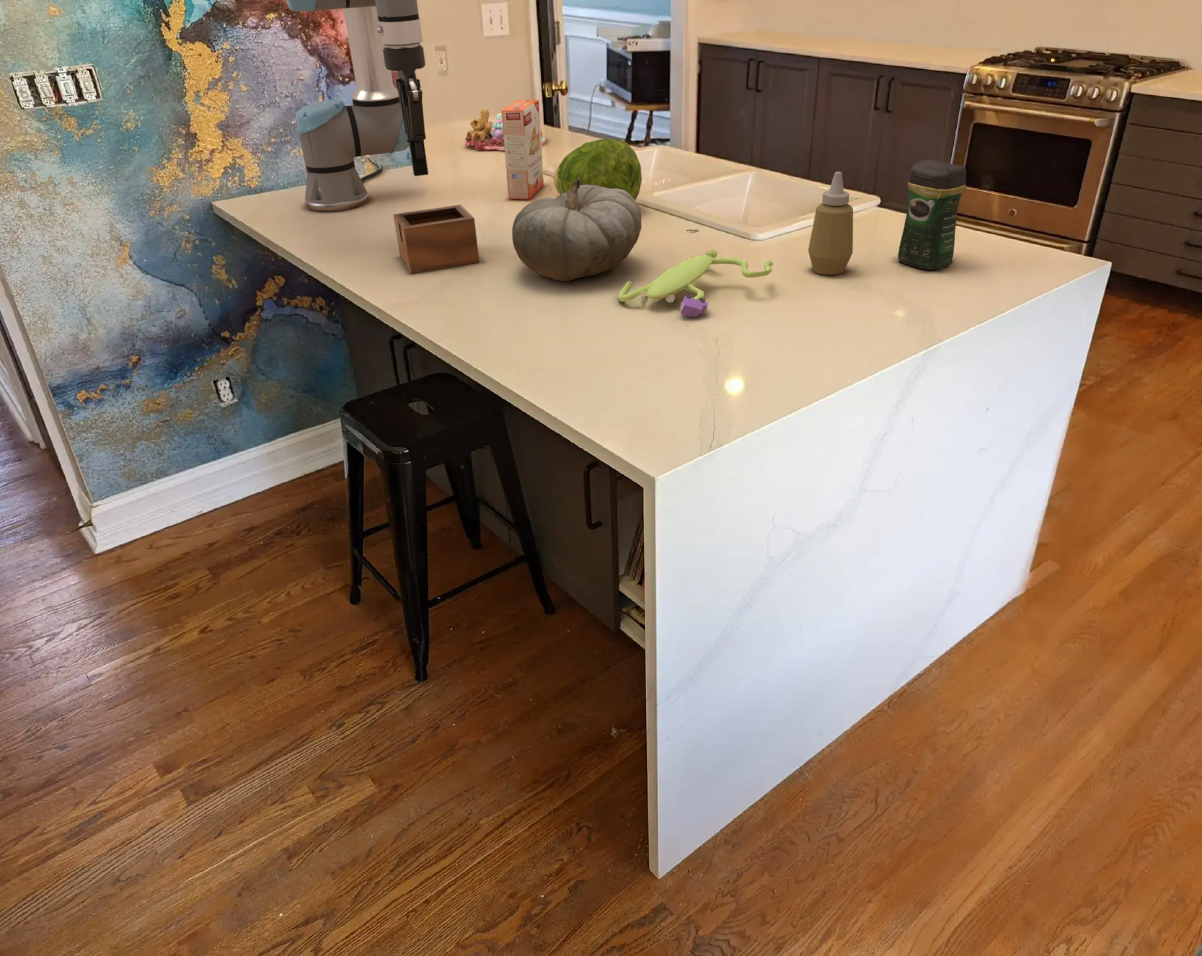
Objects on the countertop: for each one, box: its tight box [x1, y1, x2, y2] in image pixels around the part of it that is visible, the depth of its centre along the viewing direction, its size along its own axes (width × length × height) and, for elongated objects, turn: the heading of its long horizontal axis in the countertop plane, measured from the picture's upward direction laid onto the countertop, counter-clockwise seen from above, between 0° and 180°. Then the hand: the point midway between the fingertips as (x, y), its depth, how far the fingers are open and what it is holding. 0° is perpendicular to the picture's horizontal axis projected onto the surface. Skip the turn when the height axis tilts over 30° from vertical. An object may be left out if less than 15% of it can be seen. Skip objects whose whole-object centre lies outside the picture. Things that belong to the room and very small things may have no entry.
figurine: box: [617, 249, 774, 318], centre depth 158 cm, size 18×27×6 cm
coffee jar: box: [897, 159, 967, 270], centre depth 163 cm, size 10×8×19 cm
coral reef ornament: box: [464, 109, 546, 151], centre depth 271 cm, size 25×24×9 cm
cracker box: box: [501, 99, 545, 201], centre depth 217 cm, size 14×6×21 cm, turn 168°
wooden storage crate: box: [392, 204, 480, 275], centre depth 179 cm, size 9×14×11 cm
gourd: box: [511, 179, 642, 282], centre depth 169 cm, size 25×25×17 cm
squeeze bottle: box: [807, 171, 854, 276], centre depth 162 cm, size 8×8×18 cm
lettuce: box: [553, 138, 643, 201], centre depth 204 cm, size 17×23×16 cm
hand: (421, 174), depth 178 cm, fingers closed
